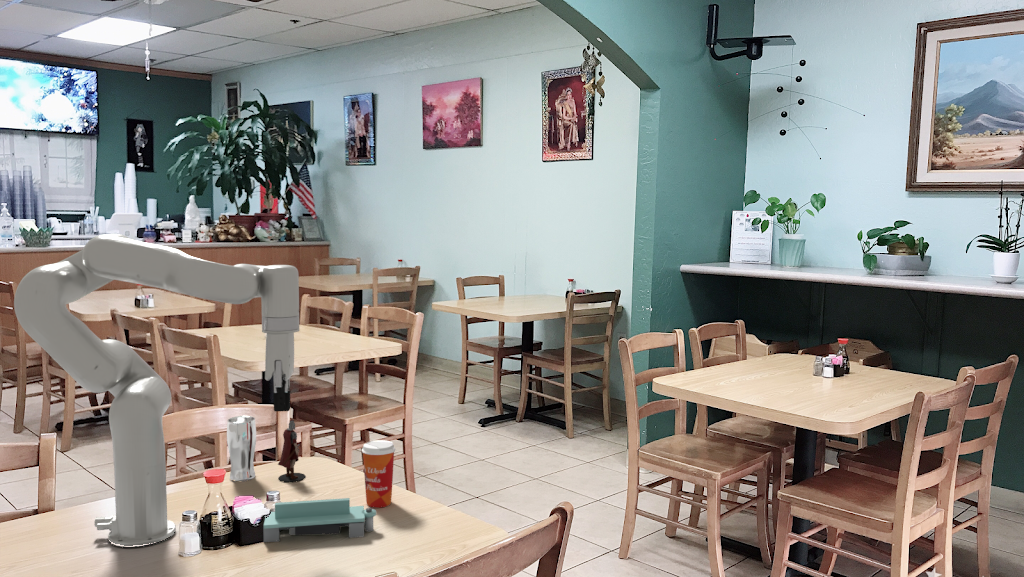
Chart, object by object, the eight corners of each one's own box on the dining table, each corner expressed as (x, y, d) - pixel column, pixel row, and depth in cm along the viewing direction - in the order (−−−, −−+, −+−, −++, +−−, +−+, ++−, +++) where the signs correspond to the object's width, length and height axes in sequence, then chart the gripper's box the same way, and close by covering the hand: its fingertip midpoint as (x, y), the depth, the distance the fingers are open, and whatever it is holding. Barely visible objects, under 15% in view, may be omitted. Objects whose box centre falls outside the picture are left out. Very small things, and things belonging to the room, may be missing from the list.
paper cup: (355, 505, 180) (354, 446, 178) (375, 495, 187) (375, 437, 185) (382, 512, 176) (382, 451, 175) (402, 501, 183) (402, 442, 182)
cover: (263, 528, 158) (263, 510, 158) (266, 515, 165) (266, 498, 165) (376, 520, 163) (376, 503, 163) (375, 508, 170) (375, 491, 169)
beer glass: (222, 478, 197) (220, 420, 195) (245, 471, 202) (244, 414, 201) (239, 484, 193) (238, 424, 191) (262, 476, 198) (261, 418, 197)
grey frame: (263, 542, 159) (263, 526, 159) (268, 528, 166) (268, 513, 166) (373, 536, 163) (373, 521, 163) (373, 523, 170) (373, 508, 170)
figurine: (310, 478, 197) (309, 420, 196) (283, 485, 193) (282, 425, 191) (297, 471, 202) (296, 414, 201) (271, 478, 197) (270, 419, 196)
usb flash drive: (289, 535, 163) (289, 526, 163) (291, 530, 166) (291, 521, 165) (339, 534, 164) (339, 524, 164) (340, 529, 167) (340, 520, 166)
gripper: (267, 319, 171) (268, 402, 173) (256, 329, 156) (258, 420, 158) (302, 319, 172) (304, 401, 174) (295, 329, 157) (296, 419, 159)
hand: (282, 410), depth 166 cm, fingers closed
